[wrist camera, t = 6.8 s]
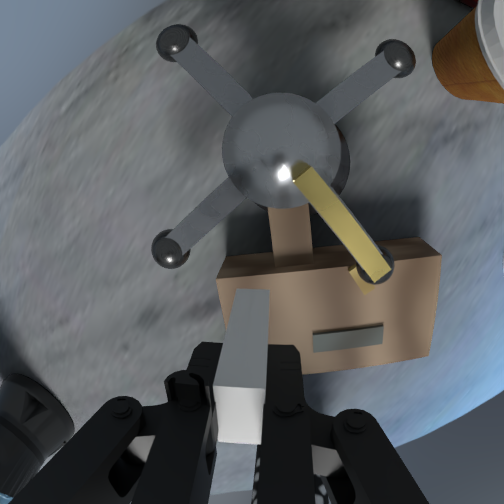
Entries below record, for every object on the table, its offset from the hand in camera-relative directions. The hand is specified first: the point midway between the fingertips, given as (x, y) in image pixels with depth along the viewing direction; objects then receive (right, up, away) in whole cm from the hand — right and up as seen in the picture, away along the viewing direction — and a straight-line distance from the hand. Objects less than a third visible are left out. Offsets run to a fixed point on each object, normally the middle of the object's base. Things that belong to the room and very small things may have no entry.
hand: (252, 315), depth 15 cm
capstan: (+2, +12, +11) cm, 16 cm away
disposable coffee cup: (+19, +20, +7) cm, 29 cm away
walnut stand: (+7, +2, +14) cm, 16 cm away
